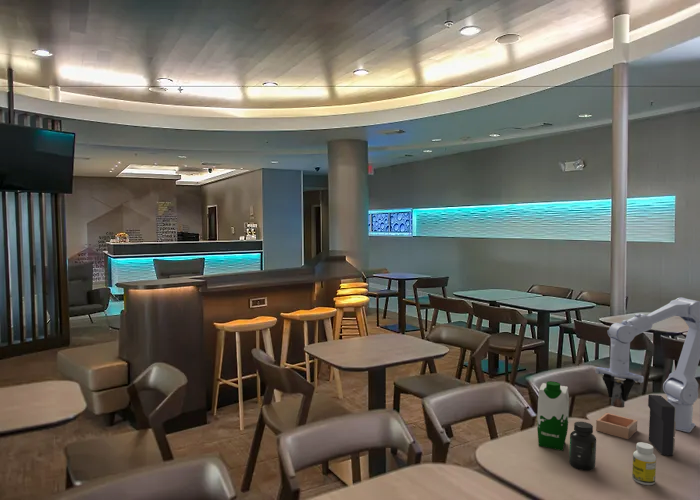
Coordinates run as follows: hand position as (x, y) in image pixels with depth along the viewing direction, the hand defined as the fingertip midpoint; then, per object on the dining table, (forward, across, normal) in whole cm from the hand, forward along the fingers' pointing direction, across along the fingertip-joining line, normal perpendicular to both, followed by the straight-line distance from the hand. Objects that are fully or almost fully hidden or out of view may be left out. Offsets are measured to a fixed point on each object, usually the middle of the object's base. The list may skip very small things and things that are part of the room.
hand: (617, 398), depth 173 cm
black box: (+10, +15, -8) cm, 20 cm away
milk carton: (+10, -10, -29) cm, 32 cm away
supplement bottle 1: (+10, +2, -37) cm, 39 cm away
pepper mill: (+2, 0, 0) cm, 2 cm away
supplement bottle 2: (+10, +17, -34) cm, 39 cm away
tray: (+10, +1, -3) cm, 11 cm away
